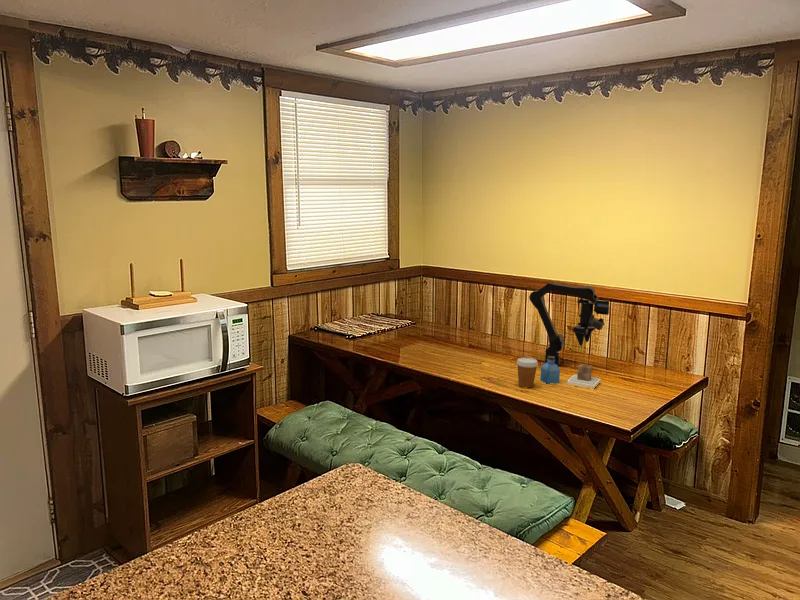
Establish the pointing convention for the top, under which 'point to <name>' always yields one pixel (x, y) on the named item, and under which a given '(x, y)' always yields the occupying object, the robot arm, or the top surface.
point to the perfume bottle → (550, 371)
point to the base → (584, 382)
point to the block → (584, 372)
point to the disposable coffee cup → (526, 371)
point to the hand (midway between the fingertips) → (583, 343)
